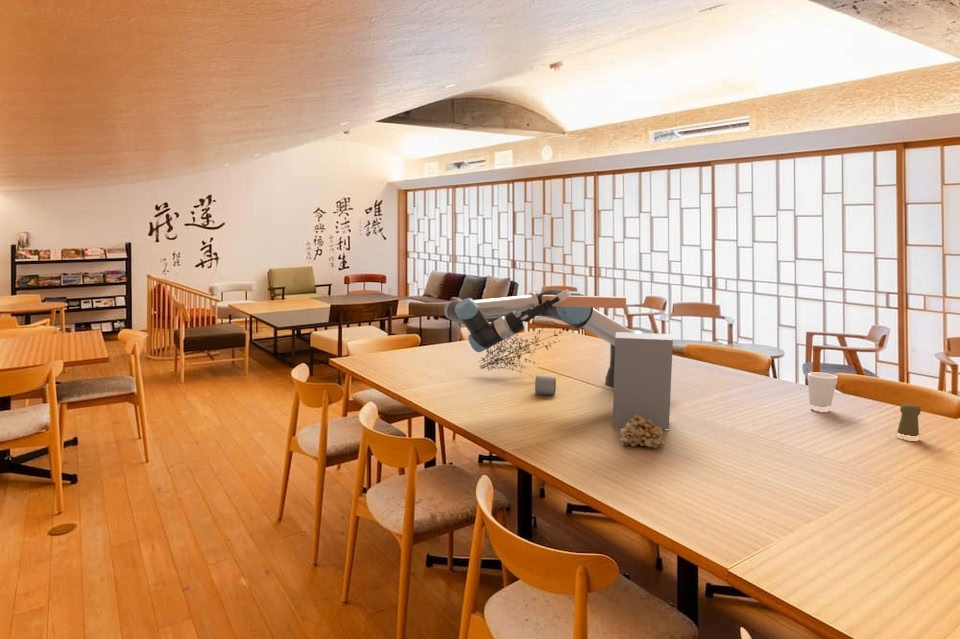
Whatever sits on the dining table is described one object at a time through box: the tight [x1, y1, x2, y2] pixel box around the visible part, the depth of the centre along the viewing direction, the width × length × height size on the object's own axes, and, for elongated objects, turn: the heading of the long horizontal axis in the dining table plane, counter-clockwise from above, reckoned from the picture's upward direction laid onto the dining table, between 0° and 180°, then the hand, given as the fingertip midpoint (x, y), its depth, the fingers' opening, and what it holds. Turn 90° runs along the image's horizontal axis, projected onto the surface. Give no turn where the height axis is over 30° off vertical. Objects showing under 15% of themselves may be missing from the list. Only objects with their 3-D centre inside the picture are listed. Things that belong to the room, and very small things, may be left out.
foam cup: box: [807, 371, 838, 407], centre depth 221 cm, size 10×9×13 cm
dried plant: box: [477, 320, 573, 378], centre depth 271 cm, size 30×31×45 cm
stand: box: [612, 332, 674, 430], centre depth 205 cm, size 18×12×30 cm, turn 76°
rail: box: [542, 295, 627, 309], centre depth 207 cm, size 28×4×4 cm, turn 76°
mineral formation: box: [619, 415, 666, 449], centre depth 187 cm, size 8×13×15 cm
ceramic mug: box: [534, 374, 557, 396], centre depth 246 cm, size 11×8×8 cm
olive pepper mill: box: [896, 403, 922, 436], centre depth 191 cm, size 6×6×11 cm
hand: (568, 293), depth 208 cm, fingers closed on rail, 3 cm apart
